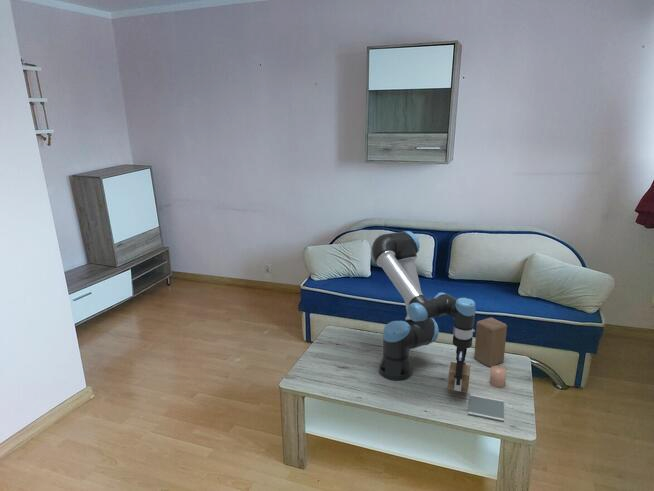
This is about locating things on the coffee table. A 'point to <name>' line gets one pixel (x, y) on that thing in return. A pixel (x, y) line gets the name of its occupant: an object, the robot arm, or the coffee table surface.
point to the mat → (486, 408)
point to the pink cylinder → (498, 376)
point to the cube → (464, 377)
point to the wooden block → (490, 341)
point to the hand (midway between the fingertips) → (458, 384)
